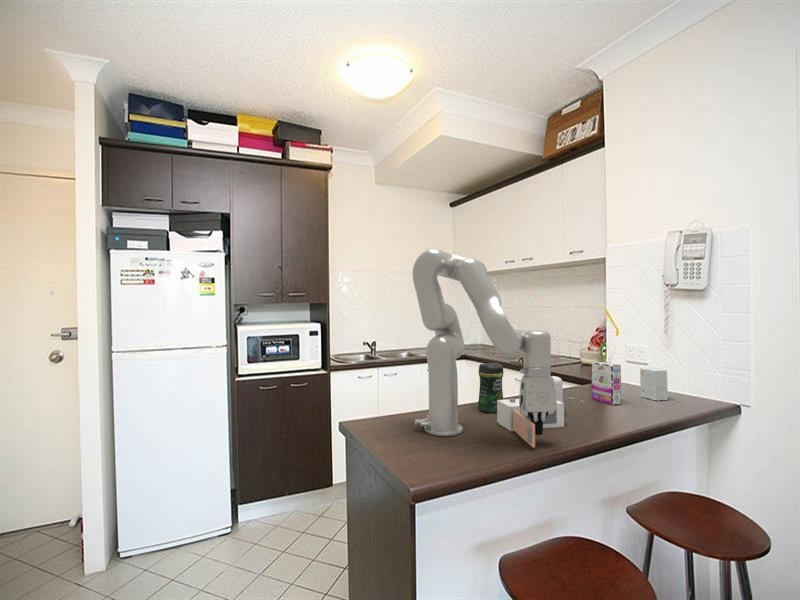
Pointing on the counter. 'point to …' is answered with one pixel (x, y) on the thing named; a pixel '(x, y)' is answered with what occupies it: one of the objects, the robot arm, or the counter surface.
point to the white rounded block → (558, 388)
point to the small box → (653, 383)
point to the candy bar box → (606, 383)
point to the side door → (523, 427)
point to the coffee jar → (490, 386)
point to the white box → (506, 416)
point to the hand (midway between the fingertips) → (537, 433)
